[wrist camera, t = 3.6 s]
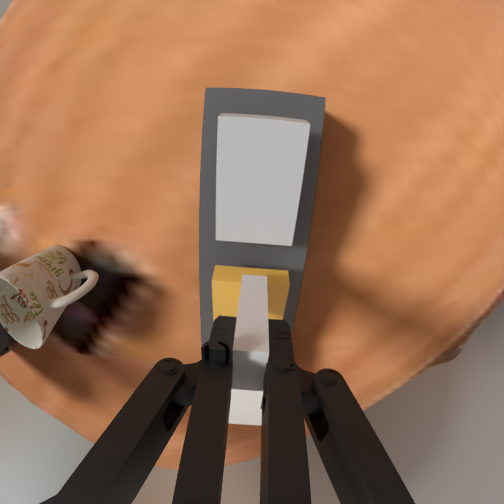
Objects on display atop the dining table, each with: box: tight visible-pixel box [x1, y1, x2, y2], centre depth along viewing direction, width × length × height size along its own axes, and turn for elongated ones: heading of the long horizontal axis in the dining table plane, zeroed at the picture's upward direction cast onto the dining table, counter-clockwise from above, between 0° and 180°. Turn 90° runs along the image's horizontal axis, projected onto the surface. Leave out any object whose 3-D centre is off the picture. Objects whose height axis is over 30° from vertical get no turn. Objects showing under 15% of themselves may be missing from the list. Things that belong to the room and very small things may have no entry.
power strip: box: [199, 88, 325, 345], centre depth 25 cm, size 8×38×5 cm, turn 176°
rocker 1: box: [216, 113, 310, 246], centre depth 17 cm, size 5×8×2 cm, turn 176°
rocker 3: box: [228, 389, 263, 425], centre depth 25 cm, size 5×8×2 cm, turn 176°
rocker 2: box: [212, 265, 290, 322], centre depth 21 cm, size 5×8×2 cm, turn 176°
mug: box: [0, 245, 99, 349], centre depth 22 cm, size 8×13×10 cm, turn 101°
